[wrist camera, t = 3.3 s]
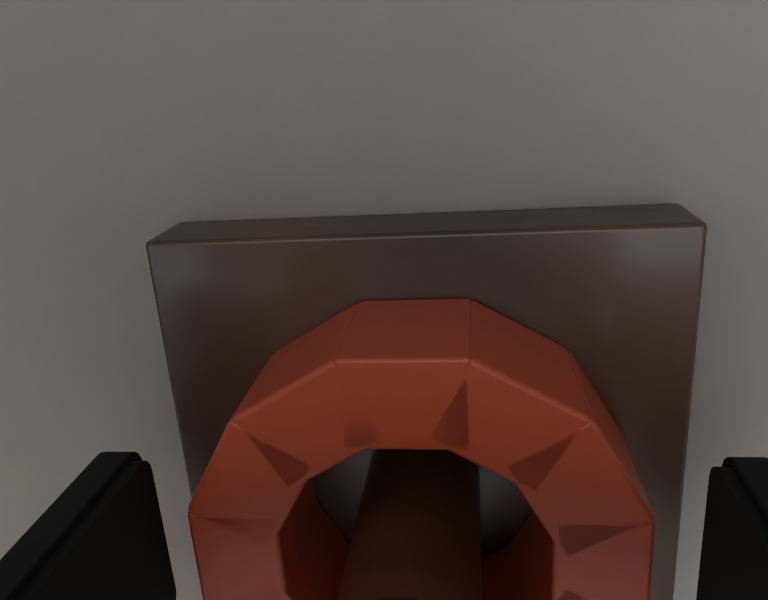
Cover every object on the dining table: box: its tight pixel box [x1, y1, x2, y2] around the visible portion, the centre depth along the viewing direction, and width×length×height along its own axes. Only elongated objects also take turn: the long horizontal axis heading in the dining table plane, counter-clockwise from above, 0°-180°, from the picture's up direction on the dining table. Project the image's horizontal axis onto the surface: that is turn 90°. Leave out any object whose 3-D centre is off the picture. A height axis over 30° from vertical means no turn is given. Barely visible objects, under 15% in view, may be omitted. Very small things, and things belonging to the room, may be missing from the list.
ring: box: [188, 299, 656, 600], centre depth 11 cm, size 7×7×2 cm
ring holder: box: [146, 204, 707, 600], centre depth 11 cm, size 9×9×7 cm
